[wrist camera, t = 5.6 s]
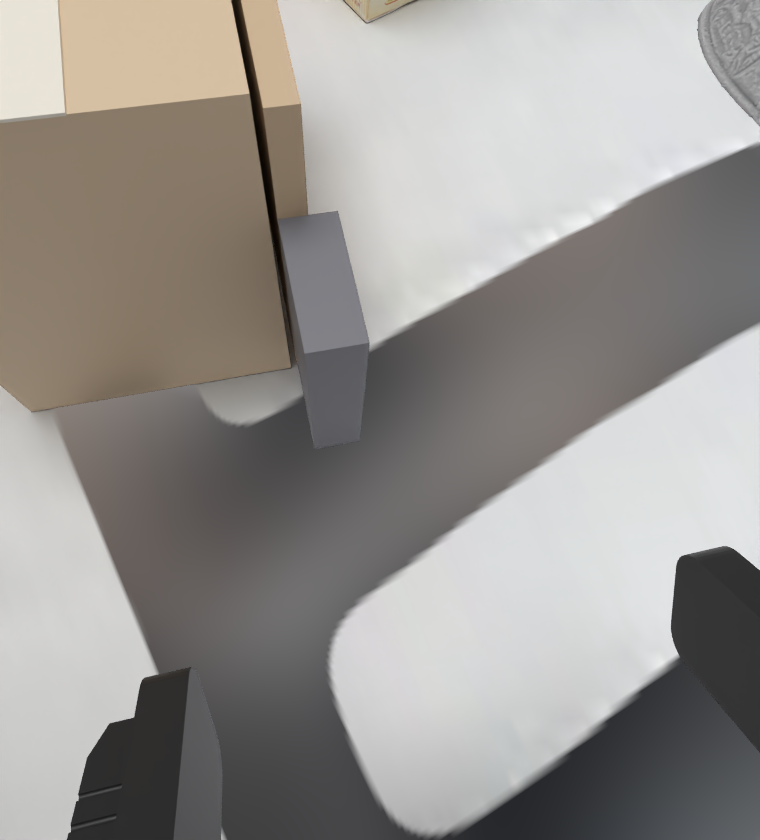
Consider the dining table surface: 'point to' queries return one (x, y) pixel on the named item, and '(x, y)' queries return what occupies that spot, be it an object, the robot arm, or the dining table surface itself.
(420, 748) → the dining table surface
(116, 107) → the carton
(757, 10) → the grey oval domed piece
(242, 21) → the carton flap
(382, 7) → the coffeecake box
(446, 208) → the dining table surface
